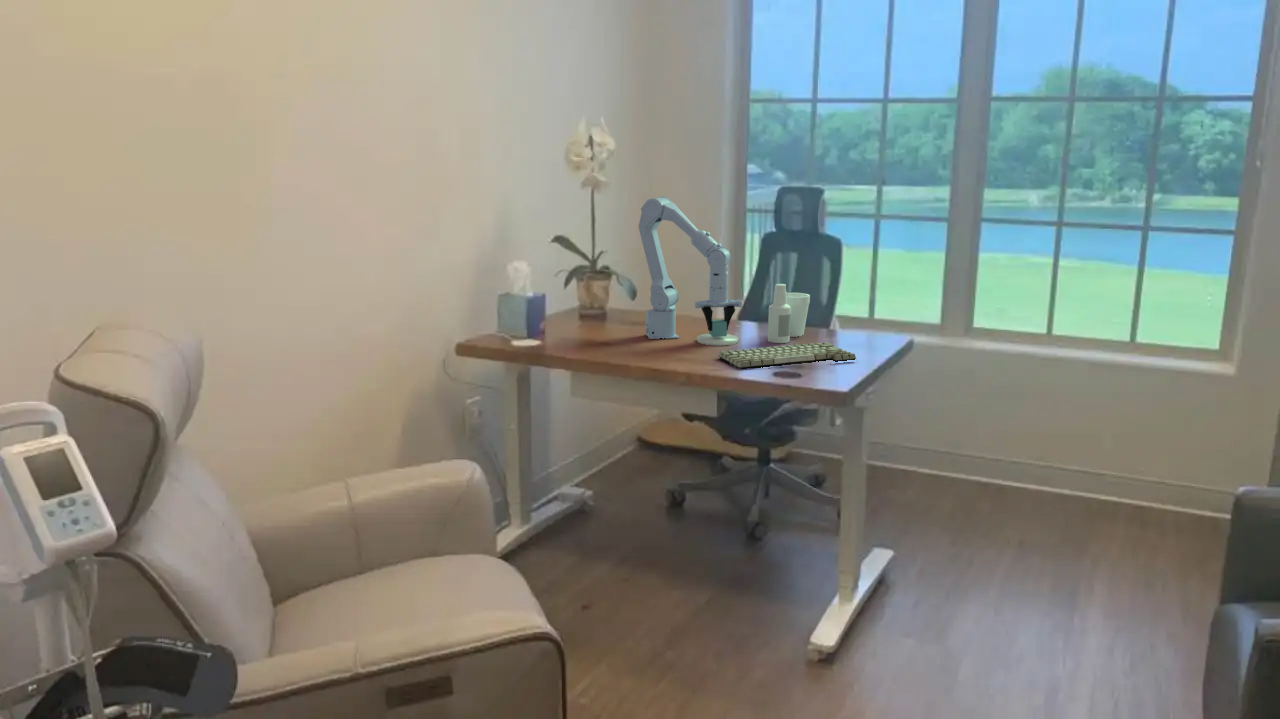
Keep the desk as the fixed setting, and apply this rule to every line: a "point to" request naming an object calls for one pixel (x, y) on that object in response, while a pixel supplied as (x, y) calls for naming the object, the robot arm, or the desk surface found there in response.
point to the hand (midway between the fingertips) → (717, 330)
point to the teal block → (718, 328)
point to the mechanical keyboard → (784, 355)
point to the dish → (717, 340)
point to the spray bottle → (779, 316)
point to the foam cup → (798, 312)
